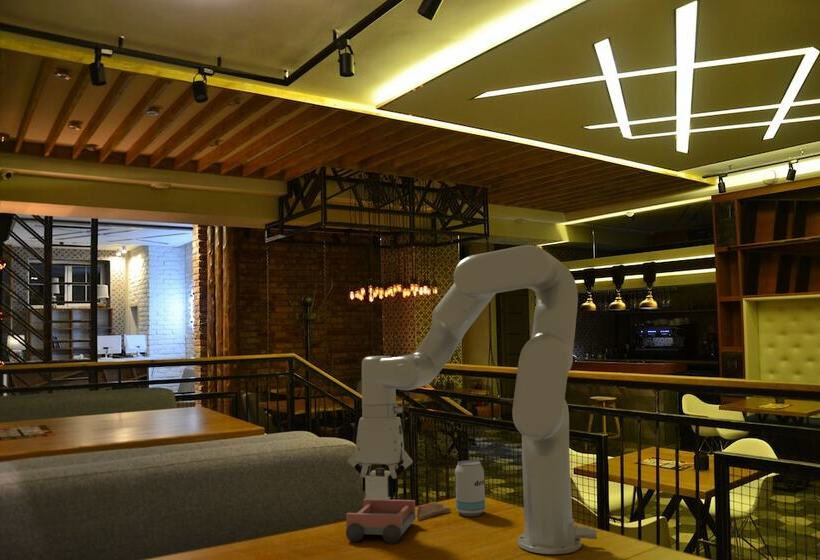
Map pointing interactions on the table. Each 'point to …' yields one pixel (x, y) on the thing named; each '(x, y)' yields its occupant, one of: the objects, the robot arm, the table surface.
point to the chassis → (381, 519)
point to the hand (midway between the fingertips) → (380, 494)
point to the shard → (431, 510)
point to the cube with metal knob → (377, 485)
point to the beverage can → (470, 488)
